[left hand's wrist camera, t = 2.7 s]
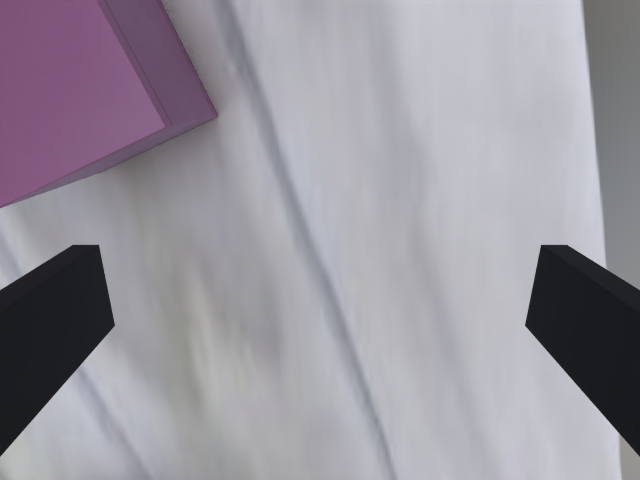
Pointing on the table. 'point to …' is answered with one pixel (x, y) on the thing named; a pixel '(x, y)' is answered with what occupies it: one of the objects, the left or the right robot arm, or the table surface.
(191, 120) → the cabinet
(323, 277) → the table surface
